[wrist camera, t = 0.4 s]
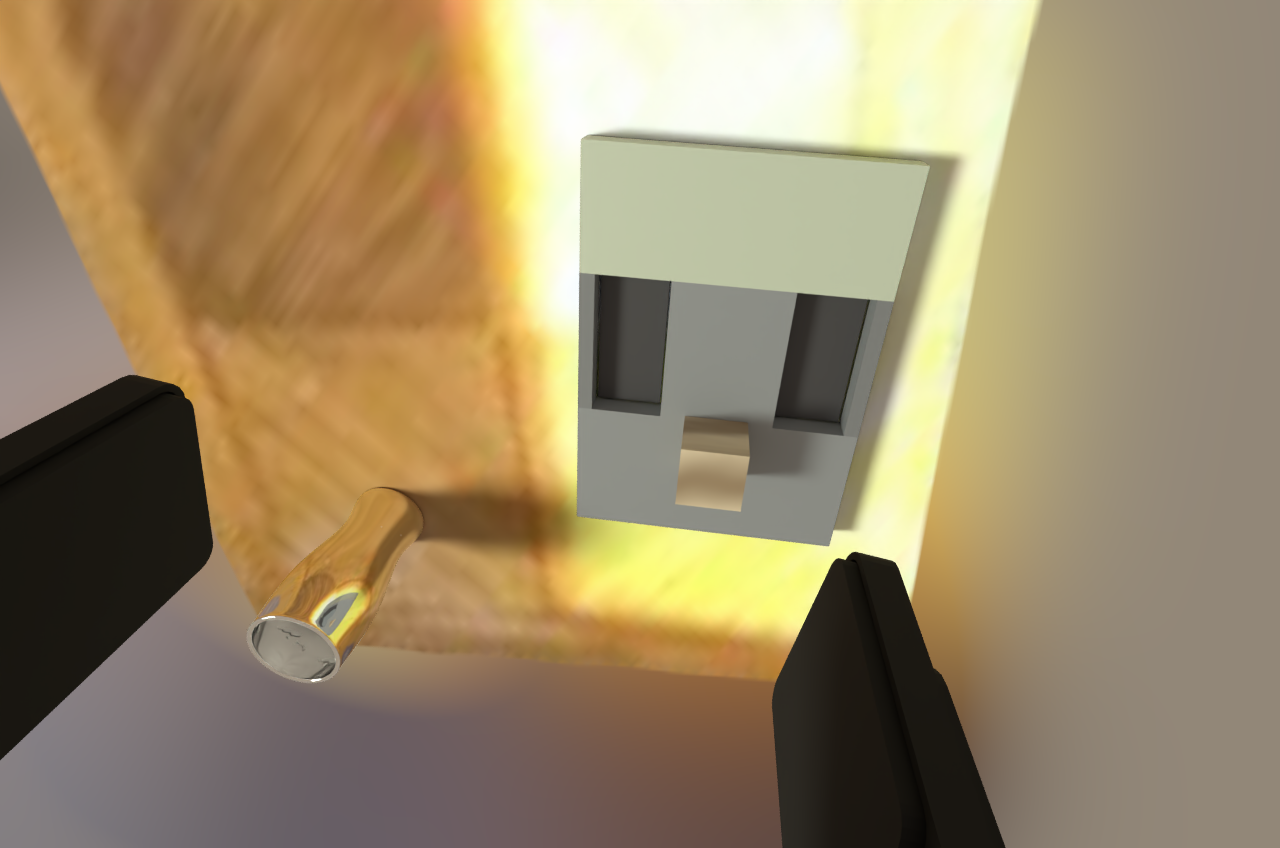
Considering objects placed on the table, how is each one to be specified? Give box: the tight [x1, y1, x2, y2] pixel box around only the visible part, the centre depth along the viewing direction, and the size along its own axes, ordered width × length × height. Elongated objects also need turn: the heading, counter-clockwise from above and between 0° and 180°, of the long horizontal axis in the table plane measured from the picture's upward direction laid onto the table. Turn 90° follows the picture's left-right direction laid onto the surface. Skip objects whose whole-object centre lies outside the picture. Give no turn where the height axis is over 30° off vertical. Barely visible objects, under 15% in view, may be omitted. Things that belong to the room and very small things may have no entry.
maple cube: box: [675, 416, 750, 512], centre depth 46 cm, size 4×4×4 cm
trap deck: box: [577, 135, 930, 546], centre depth 45 cm, size 28×20×2 cm
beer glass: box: [247, 488, 424, 683], centre depth 51 cm, size 7×7×15 cm
